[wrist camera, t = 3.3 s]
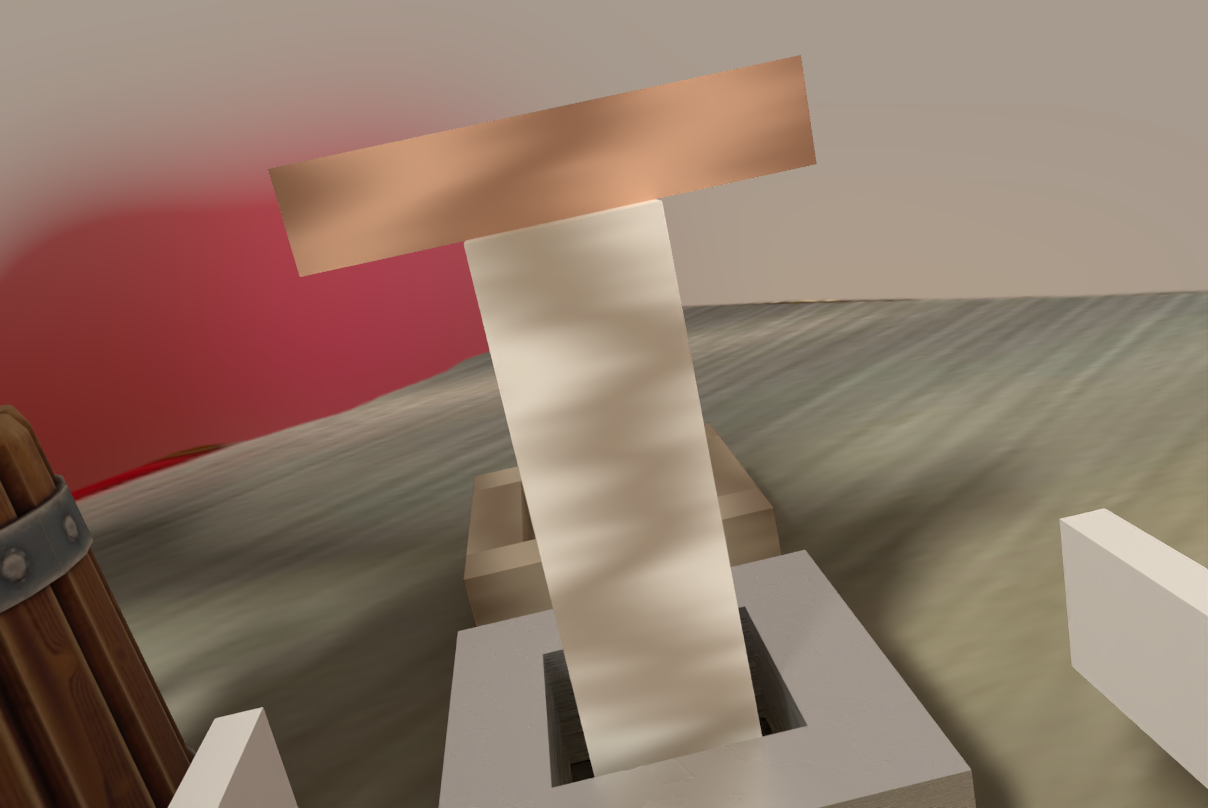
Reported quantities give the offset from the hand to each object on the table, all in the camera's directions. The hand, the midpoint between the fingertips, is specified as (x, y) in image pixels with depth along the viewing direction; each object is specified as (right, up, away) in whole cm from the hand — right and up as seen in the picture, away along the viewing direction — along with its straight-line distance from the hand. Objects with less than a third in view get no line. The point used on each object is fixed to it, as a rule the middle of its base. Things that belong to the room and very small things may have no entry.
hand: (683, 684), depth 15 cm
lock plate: (+1, -7, +12) cm, 14 cm away
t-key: (+1, -7, +12) cm, 14 cm away
